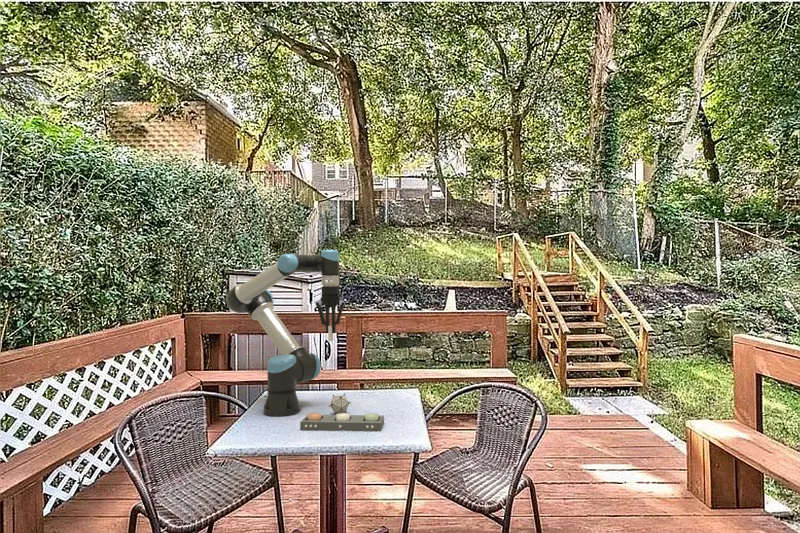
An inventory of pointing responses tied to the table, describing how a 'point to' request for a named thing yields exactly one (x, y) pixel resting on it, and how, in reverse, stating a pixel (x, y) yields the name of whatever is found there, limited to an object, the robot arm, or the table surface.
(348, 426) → the console
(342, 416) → the button one
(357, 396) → the table surface
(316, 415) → the button three
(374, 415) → the button two
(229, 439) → the table surface
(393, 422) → the table surface
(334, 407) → the game die
